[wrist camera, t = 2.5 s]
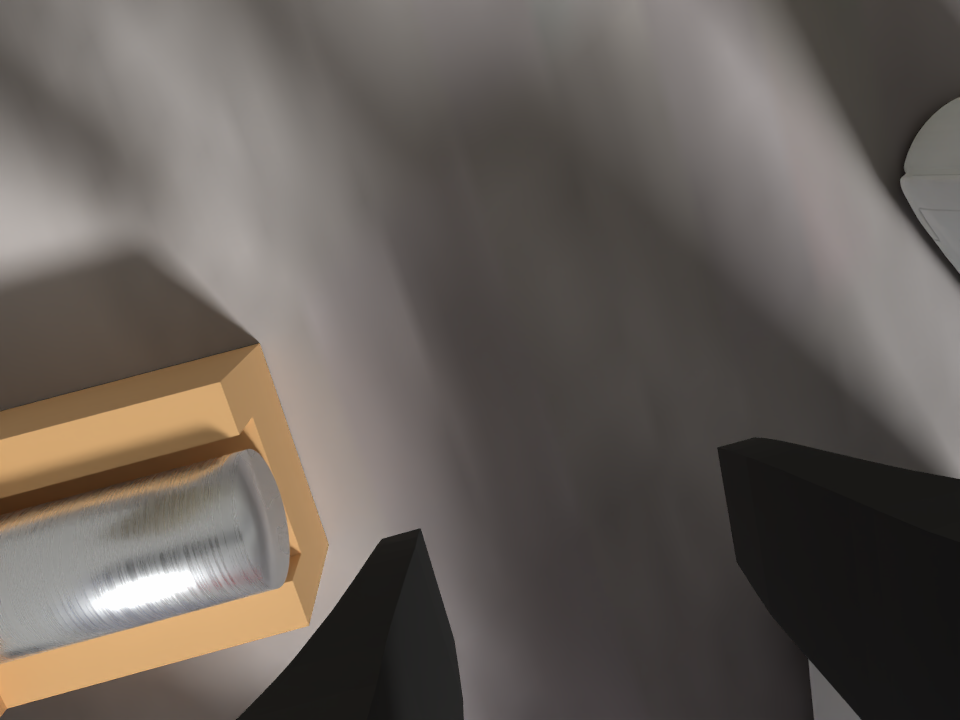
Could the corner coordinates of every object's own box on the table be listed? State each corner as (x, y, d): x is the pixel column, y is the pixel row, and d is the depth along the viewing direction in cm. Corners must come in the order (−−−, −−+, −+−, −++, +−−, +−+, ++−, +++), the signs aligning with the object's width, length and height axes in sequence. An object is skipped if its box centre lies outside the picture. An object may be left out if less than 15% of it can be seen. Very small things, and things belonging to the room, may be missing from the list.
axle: (256, 428, 16) (221, 485, 13) (297, 541, 16) (273, 619, 14) (-179, 544, 15) (-314, 629, 13) (-114, 653, 16) (-228, 756, 13)
